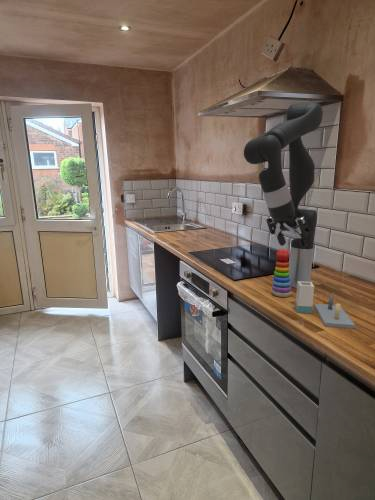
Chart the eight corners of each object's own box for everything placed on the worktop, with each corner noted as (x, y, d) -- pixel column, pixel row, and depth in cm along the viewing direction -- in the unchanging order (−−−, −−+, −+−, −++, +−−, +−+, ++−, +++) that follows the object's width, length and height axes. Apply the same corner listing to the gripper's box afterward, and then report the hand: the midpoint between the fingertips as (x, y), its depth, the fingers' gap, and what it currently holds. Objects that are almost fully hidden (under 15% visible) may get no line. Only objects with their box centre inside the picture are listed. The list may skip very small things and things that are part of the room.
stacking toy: (287, 290, 135) (290, 247, 131) (294, 297, 127) (298, 251, 123) (268, 290, 135) (271, 247, 131) (274, 298, 127) (277, 251, 123)
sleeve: (295, 307, 119) (297, 281, 116) (308, 308, 118) (311, 281, 116) (297, 312, 114) (299, 285, 112) (311, 313, 113) (314, 286, 111)
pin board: (313, 306, 119) (315, 290, 118) (339, 308, 118) (341, 292, 116) (324, 326, 104) (326, 308, 102) (354, 328, 102) (357, 310, 101)
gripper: (305, 194, 95) (319, 241, 101) (269, 196, 107) (283, 238, 113) (290, 206, 92) (305, 254, 98) (254, 207, 104) (269, 249, 110)
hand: (293, 245), depth 105 cm, fingers open, 8 cm apart
